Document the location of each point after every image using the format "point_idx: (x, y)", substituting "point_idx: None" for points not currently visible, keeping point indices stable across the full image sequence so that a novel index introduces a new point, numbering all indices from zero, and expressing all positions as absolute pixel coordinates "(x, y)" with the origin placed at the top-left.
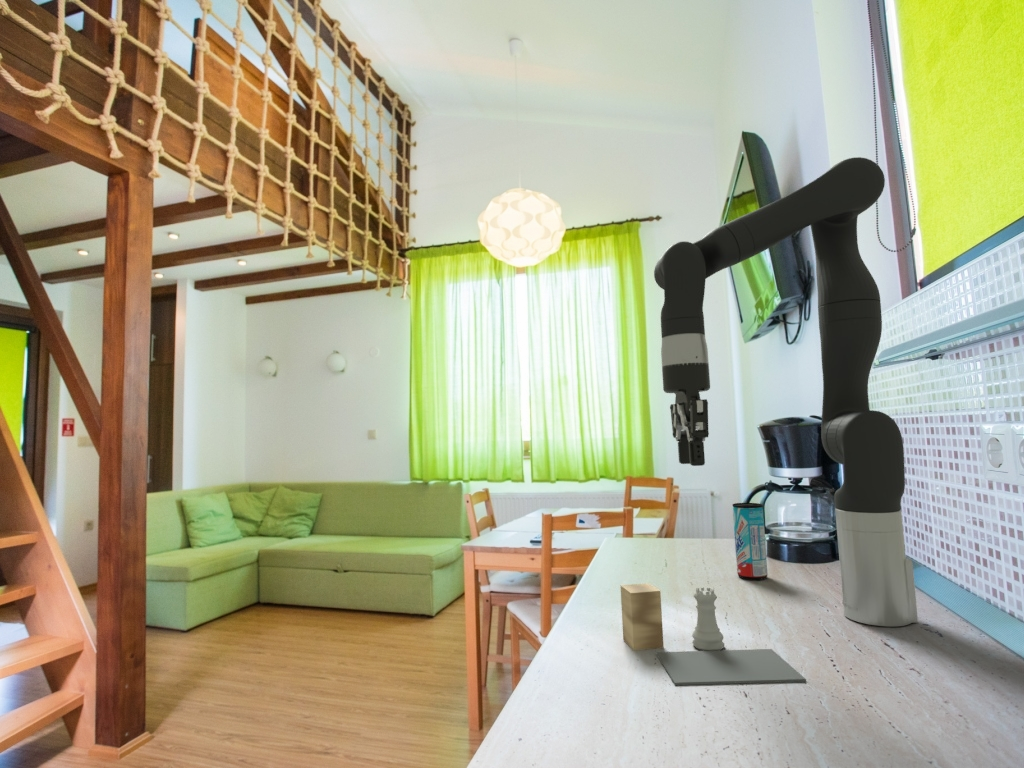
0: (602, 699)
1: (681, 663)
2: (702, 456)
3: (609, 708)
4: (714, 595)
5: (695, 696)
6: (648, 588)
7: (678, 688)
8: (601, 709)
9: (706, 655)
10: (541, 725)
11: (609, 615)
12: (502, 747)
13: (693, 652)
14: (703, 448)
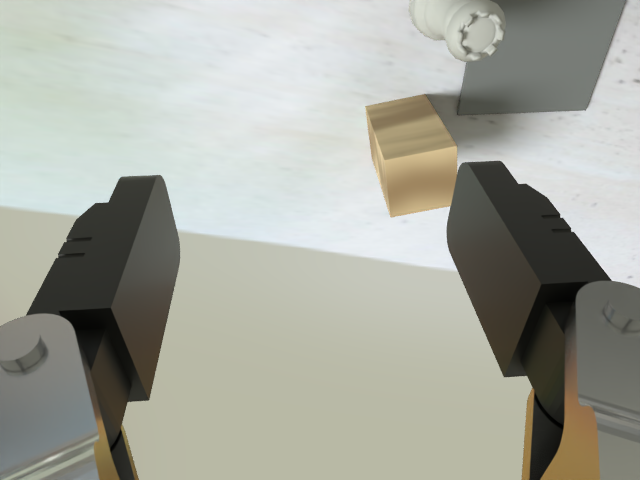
0: (582, 204)
1: (520, 82)
2: (553, 214)
3: (609, 199)
4: (498, 11)
5: (630, 86)
6: (431, 167)
7: (594, 105)
8: (607, 207)
9: None
10: (613, 262)
11: (224, 168)
12: None
13: None
14: (553, 239)
